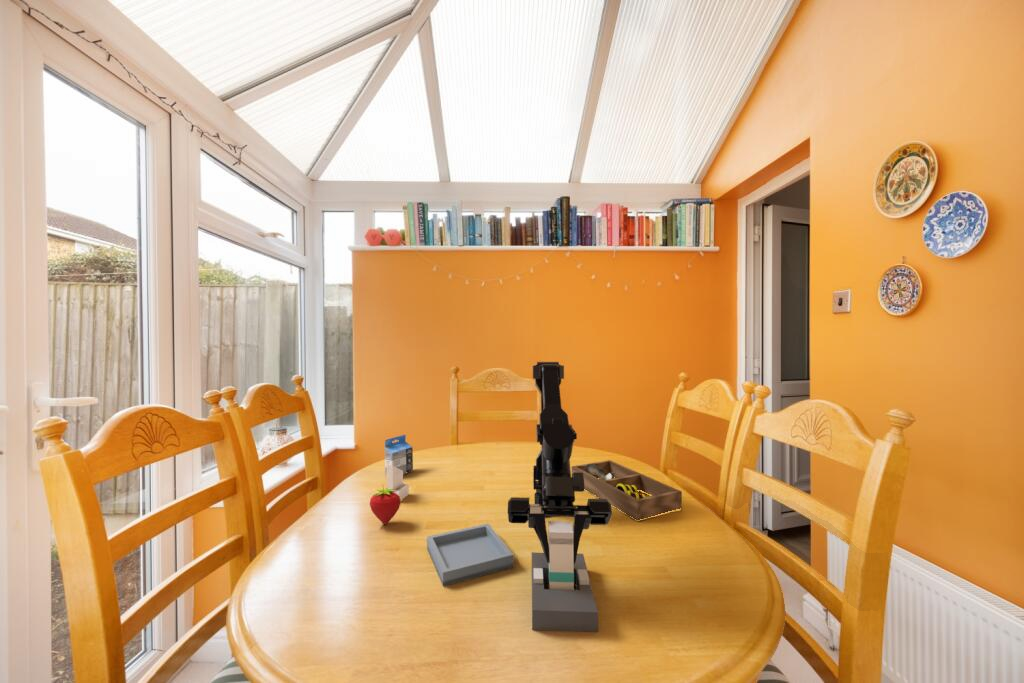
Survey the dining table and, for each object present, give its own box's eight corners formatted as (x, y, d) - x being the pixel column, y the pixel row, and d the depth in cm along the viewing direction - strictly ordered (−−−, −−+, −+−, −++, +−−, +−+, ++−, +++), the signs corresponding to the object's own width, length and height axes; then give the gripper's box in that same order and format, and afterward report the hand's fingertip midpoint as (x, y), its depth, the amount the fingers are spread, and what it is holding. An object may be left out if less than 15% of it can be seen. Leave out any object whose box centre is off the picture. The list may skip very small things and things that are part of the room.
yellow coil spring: (648, 513, 98) (648, 494, 98) (628, 514, 97) (628, 494, 97) (632, 498, 108) (632, 480, 108) (614, 498, 107) (614, 481, 107)
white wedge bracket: (378, 498, 101) (386, 465, 105) (394, 504, 109) (401, 472, 114) (390, 500, 100) (398, 466, 104) (406, 505, 109) (413, 473, 113)
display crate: (610, 475, 126) (609, 460, 126) (681, 510, 99) (681, 491, 99) (571, 482, 119) (571, 466, 119) (637, 521, 93) (637, 501, 93)
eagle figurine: (612, 478, 120) (583, 471, 121) (616, 463, 116) (587, 456, 117) (610, 499, 114) (580, 491, 115) (615, 484, 109) (584, 476, 111)
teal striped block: (548, 588, 68) (548, 521, 68) (571, 588, 68) (571, 521, 68) (549, 603, 64) (549, 532, 64) (574, 604, 64) (573, 532, 64)
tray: (488, 534, 87) (488, 523, 87) (513, 567, 74) (513, 554, 74) (427, 548, 81) (427, 536, 81) (443, 586, 68) (443, 572, 68)
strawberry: (393, 531, 88) (393, 488, 88) (364, 528, 90) (364, 486, 90) (405, 519, 94) (405, 479, 94) (377, 517, 96) (377, 477, 96)
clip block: (531, 567, 74) (531, 548, 74) (583, 569, 74) (583, 549, 74) (532, 629, 58) (532, 604, 58) (598, 631, 58) (597, 606, 58)
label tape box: (392, 479, 122) (392, 441, 122) (384, 476, 125) (384, 439, 125) (413, 471, 130) (413, 435, 130) (405, 469, 132) (405, 434, 132)
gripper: (508, 454, 70) (504, 545, 59) (609, 455, 69) (625, 548, 58) (510, 481, 78) (507, 566, 67) (601, 482, 77) (613, 569, 66)
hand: (561, 562), depth 64 cm, fingers closed on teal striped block, 4 cm apart
